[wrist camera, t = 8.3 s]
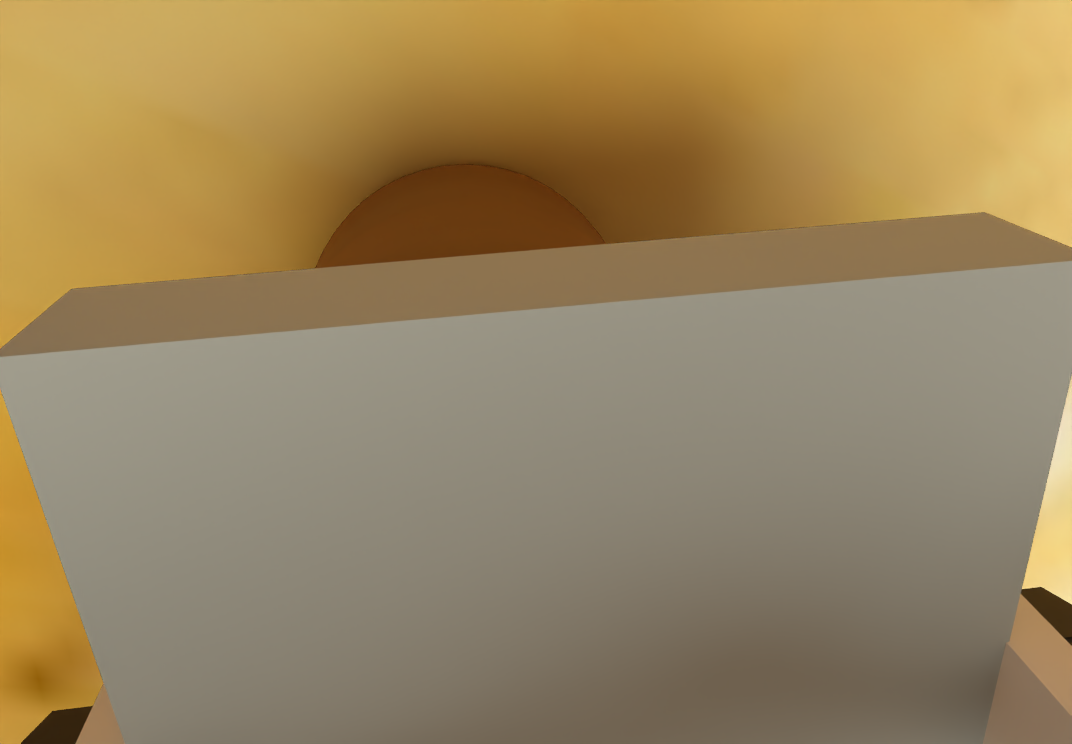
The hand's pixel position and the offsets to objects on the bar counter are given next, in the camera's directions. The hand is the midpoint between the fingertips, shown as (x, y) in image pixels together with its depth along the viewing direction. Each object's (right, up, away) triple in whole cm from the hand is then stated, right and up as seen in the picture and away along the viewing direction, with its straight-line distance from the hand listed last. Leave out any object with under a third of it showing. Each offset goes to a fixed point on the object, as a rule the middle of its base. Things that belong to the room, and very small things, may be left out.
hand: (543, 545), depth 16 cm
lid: (0, -1, -3) cm, 3 cm away
